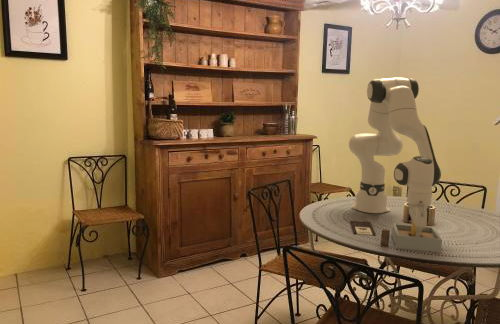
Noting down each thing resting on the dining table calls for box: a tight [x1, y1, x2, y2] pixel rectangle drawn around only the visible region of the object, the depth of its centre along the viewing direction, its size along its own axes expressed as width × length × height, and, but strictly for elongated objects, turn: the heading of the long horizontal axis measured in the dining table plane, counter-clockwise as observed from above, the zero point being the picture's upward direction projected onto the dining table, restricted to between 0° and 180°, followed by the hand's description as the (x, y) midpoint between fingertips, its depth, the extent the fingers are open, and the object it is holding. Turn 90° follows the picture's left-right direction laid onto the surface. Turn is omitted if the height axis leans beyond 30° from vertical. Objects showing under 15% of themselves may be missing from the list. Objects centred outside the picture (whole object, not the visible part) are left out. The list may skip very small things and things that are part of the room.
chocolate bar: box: [349, 220, 377, 237], centre depth 183 cm, size 9×1×18 cm
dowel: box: [411, 219, 416, 237], centre depth 165 cm, size 4×4×10 cm
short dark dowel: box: [380, 228, 391, 248], centre depth 162 cm, size 3×3×6 cm
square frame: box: [391, 222, 443, 254], centre depth 165 cm, size 16×16×5 cm
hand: (415, 232), depth 165 cm, fingers open, 8 cm apart
